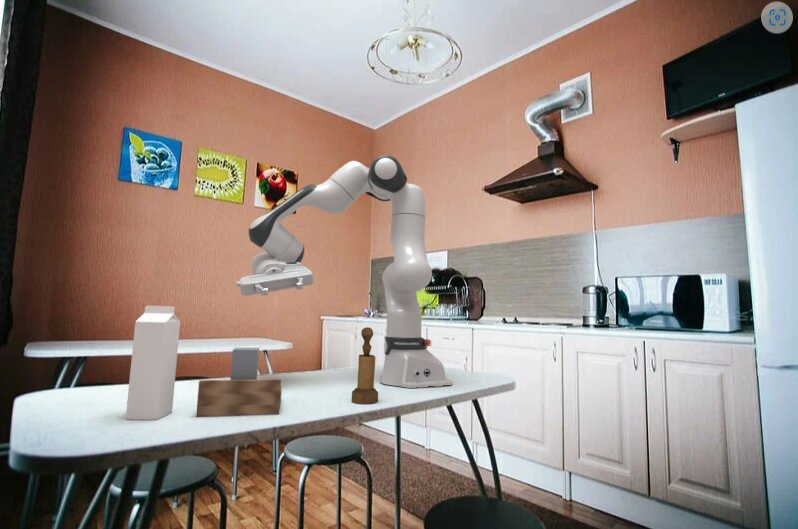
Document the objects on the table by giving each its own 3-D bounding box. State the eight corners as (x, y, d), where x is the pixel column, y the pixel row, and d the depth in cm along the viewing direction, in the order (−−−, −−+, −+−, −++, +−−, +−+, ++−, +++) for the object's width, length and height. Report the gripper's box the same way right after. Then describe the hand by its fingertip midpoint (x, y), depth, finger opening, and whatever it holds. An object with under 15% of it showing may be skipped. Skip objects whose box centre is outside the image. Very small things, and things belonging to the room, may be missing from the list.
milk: (156, 420, 79) (167, 306, 81) (124, 420, 78) (136, 305, 81) (172, 412, 85) (182, 306, 87) (142, 411, 84) (153, 305, 87)
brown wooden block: (281, 398, 101) (282, 369, 101) (278, 414, 86) (280, 380, 86) (211, 400, 97) (213, 370, 97) (196, 416, 82) (199, 381, 83)
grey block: (255, 396, 92) (259, 347, 94) (253, 401, 87) (257, 349, 89) (232, 397, 91) (235, 347, 92) (228, 402, 86) (232, 349, 88)
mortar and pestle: (373, 405, 96) (376, 328, 98) (347, 403, 98) (350, 327, 100) (380, 399, 103) (383, 327, 105) (356, 397, 104) (358, 326, 106)
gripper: (234, 271, 116) (241, 284, 105) (304, 261, 126) (318, 272, 114) (237, 291, 118) (243, 307, 106) (306, 280, 127) (319, 293, 116)
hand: (282, 289), depth 110 cm, fingers open, 8 cm apart
